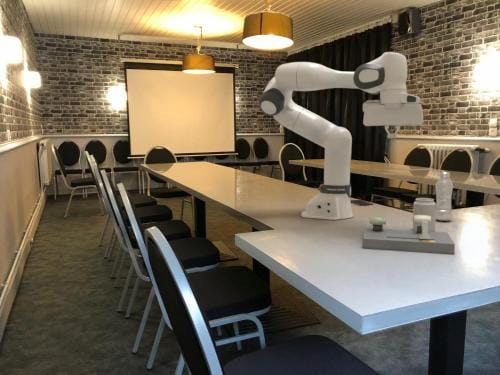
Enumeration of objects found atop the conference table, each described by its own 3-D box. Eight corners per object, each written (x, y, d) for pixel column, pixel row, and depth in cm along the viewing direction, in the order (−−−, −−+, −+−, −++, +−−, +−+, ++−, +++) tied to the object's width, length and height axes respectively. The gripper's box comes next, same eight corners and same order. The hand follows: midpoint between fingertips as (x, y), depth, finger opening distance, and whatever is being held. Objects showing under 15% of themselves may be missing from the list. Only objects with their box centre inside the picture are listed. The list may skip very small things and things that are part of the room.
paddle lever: (419, 239, 127) (420, 222, 126) (418, 235, 131) (418, 219, 130) (430, 239, 126) (431, 222, 125) (429, 236, 130) (429, 220, 129)
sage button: (369, 224, 139) (369, 219, 139) (370, 221, 144) (370, 216, 144) (385, 225, 137) (385, 219, 137) (385, 222, 142) (385, 216, 142)
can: (433, 229, 155) (435, 197, 153) (435, 233, 148) (437, 200, 146) (412, 228, 157) (413, 196, 156) (413, 232, 150) (414, 199, 149)
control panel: (363, 248, 130) (363, 232, 130) (365, 236, 145) (365, 222, 145) (454, 254, 122) (455, 237, 122) (446, 240, 137) (447, 226, 137)
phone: (361, 199, 224) (374, 204, 209) (360, 201, 224) (374, 206, 210) (347, 200, 223) (359, 204, 208) (347, 202, 223) (359, 206, 208)
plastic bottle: (454, 222, 166) (456, 172, 163) (436, 222, 167) (437, 172, 165) (449, 219, 172) (451, 171, 170) (432, 219, 173) (434, 171, 171)
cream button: (414, 222, 135) (414, 217, 134) (413, 219, 139) (413, 214, 139) (431, 223, 133) (431, 218, 133) (430, 220, 138) (430, 215, 138)
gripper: (362, 99, 147) (361, 138, 148) (424, 97, 141) (423, 138, 142) (363, 101, 153) (362, 138, 154) (423, 98, 146) (421, 138, 148)
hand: (392, 138), depth 148 cm, fingers closed
